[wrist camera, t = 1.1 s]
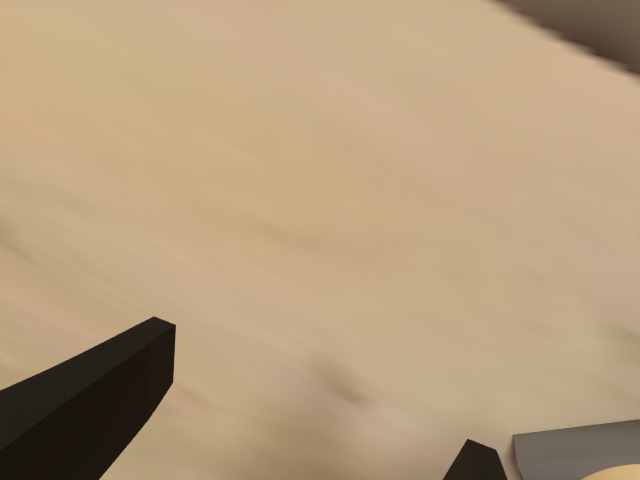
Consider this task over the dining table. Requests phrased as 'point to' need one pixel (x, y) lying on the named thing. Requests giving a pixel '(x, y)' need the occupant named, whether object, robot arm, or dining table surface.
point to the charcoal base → (581, 453)
